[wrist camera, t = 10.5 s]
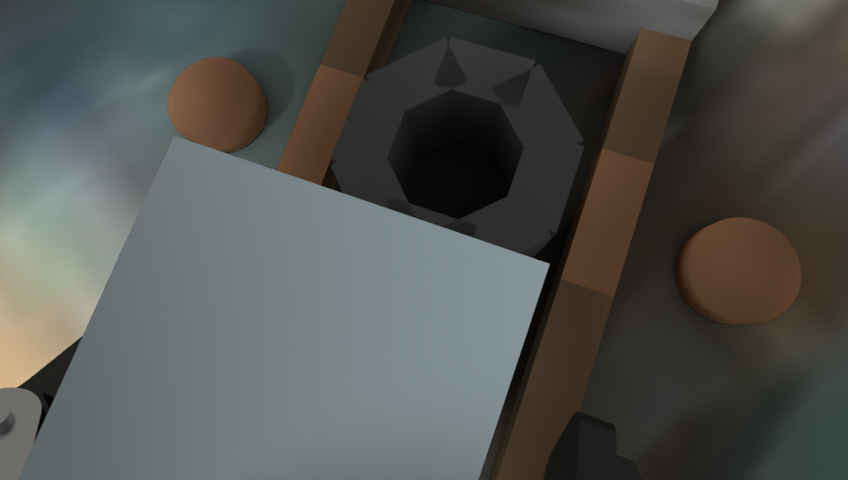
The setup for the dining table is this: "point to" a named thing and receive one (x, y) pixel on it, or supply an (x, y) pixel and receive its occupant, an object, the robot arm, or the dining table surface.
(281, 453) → the gray block
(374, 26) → the guide channel
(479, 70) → the rubber ring
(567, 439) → the robot arm
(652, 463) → the dining table surface
